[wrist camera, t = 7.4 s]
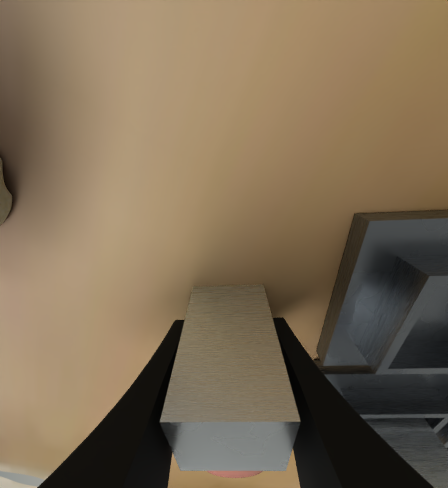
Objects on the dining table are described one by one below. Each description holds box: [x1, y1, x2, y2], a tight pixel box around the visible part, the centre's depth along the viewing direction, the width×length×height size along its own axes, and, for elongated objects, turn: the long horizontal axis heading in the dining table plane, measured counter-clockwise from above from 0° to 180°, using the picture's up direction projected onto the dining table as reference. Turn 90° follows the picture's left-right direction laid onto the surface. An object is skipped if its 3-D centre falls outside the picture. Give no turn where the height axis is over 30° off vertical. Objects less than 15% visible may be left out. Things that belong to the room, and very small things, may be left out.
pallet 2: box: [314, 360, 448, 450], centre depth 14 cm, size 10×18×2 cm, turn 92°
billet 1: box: [160, 284, 301, 471], centre depth 9 cm, size 4×4×6 cm
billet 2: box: [363, 418, 448, 488], centre depth 12 cm, size 4×4×6 cm
